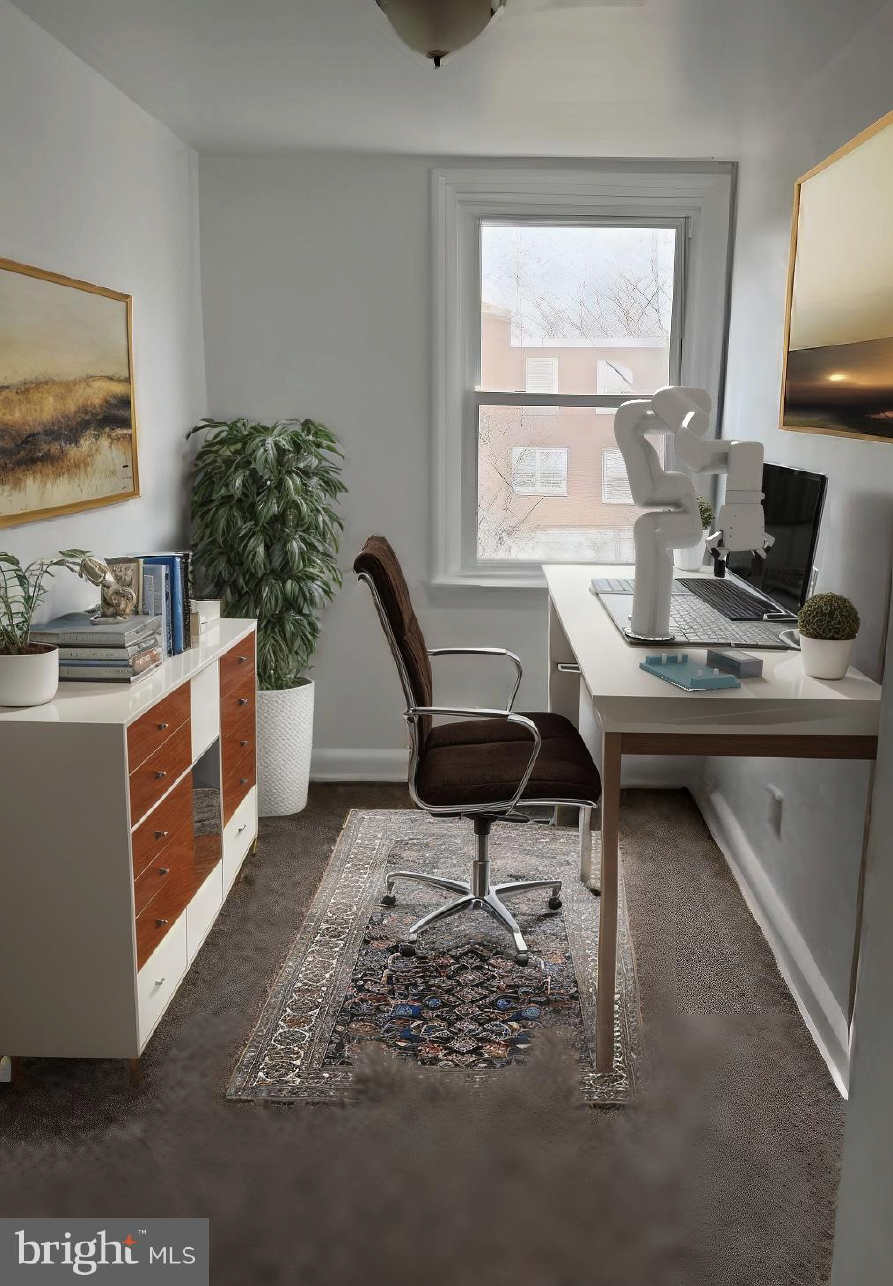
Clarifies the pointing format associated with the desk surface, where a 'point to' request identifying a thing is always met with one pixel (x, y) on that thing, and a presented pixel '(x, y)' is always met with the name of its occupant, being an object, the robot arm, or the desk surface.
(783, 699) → the desk surface
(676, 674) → the blue pegged tray
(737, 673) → the block
